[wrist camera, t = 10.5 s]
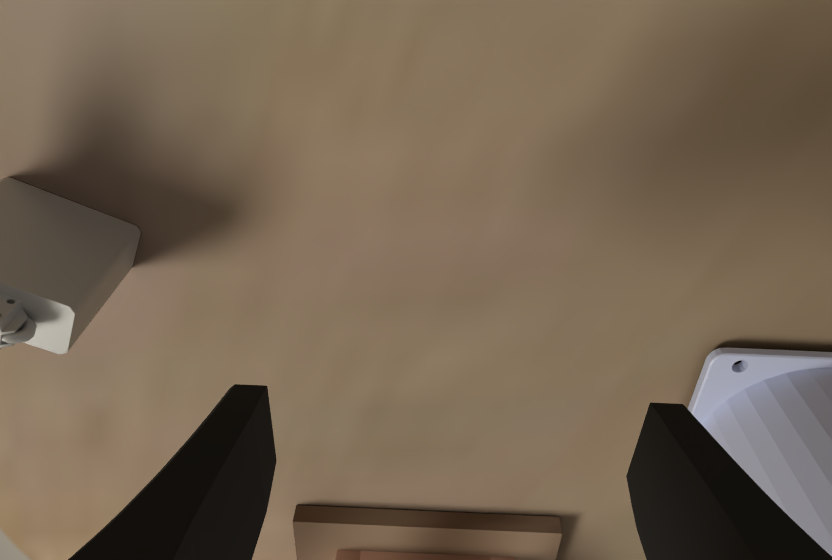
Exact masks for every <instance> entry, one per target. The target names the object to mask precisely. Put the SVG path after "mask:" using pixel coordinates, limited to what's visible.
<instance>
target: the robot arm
mask: <svg viewBox="0 0 832 560" xmlns="http://www.w3.org/2000/svg"><path fill="white" fill-rule="evenodd" d="M741 360H742V361H741ZM737 361H741V362H740V363H738V364H735V365H733V364H734V363H735V362H737ZM275 465H276V454H275V446H274V437H273V429H272V421H271V413H270V405H269V397H268V389H267V386H259V385H237V384H235V385H234V386H232V387H231V388H230V389H229V390H228V391H227V393H226V394H225V395H224V397H223V398H222V399H221V400H220V402H219V403H218V404H217V405H216V407H215V408H214V409H213V410H212V412H211V413H210V414H209V415H208V416H207V418H206V419H205V420H204V421H203V423H202V424H201V425H200V426H199V427H198V428H197V430H196V431H195V432H194V433H193V434H192V436H191V437H190V438H189V439H188V440H187V441H186V443H185V444H184V445H183V446H182V447H181V448H180V449H179V450H178V452H177V453H176V454H175V455H174V456H173V457H172V458H171V459H170V461H169V462H168V463H167V464H166V465H165V466H164V467H163V468H162V470H161V471H160V472H159V473H158V474H157V475H156V476H155V477H154V478H153V479H152V480H151V481H150V482H149V483H148V484H147V485H146V486H145V487H144V488H143V489H142V490H141V491H140V492H139V494H138V495H137V496H136V497H135V498H134V499H133V500H132V501H131V502H130V503H129V504H128V505H127V506H126V507H125V508H124V509H123V510H122V511H121V512H120V513H119V514H118V515H117V516H116V517H115V518H114V519H113V520H111V521H110V522H109V523H108V524H107V525H106V526H105V527H104V528H103V529H102V530H101V531H100V532H99V533H98V534H96V535H95V536H94V537H93V538H92V539H91V540H90V541H89V542H88V543H86V544H85V545H84V546H83V547H82V548H81V549H80V550H79V551H77V552H76V553H75V554H74V555H73V556H72V557H71V558H69V559H68V560H252V557H253V553H254V550H255V547H256V544H257V541H258V538H259V534H260V531H261V528H262V525H263V521H264V518H265V515H266V512H267V507H268V502H269V497H270V492H271V487H272V481H273V476H274V471H275ZM627 481H628V487H629V492H630V498H631V503H632V508H633V513H634V517H635V522H636V527H637V531H638V534H639V537H640V540H641V543H642V546H643V549H644V553H645V556H646V559H647V560H832V352H818V351H795V350H772V349H749V348H726V347H725V348H718V349H716V350H714V351H712V352H711V353H710V354H709V355H708V356H707V358H706V360H705V363H704V366H703V369H702V371H701V374H700V377H699V379H698V382H697V385H696V388H695V390H694V393H693V396H692V399H691V401H690V404H689V407H688V409H687V408H686V407H685V406H684V405H683V404H668V403H650V405H649V408H648V411H647V414H646V417H645V420H644V423H643V426H642V430H641V433H640V436H639V439H638V442H637V445H636V448H635V451H634V454H633V458H632V461H631V464H630V467H629V470H628V473H627Z"/></svg>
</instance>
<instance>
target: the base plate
mask: <svg viewBox="0 0 832 560" xmlns="http://www.w3.org/2000/svg"><path fill="white" fill-rule="evenodd" d="M293 528H294V537H295V546H296V554H297V560H556V557H557V553H558V549H559V545H560V541H561V537H562V529H561V523H560V518H559V517H551V516H528V515H506V514H483V513H461V512H439V511H416V510H394V509H371V508H349V507H326V506H304V505H296V509H295V514H294V519H293Z"/></svg>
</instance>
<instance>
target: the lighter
mask: <svg viewBox="0 0 832 560" xmlns="http://www.w3.org/2000/svg"><path fill="white" fill-rule="evenodd" d="M140 235H141V232H140V230H139V229H138V227H137V226H136V225H133V224H131V223H128V222H125V221H123V220H120V219H117V218H115V217H112V216H110V215H107V214H104V213H102V212H99V211H96V210H94V209H91V208H89V207H86V206H83V205H81V204H78V203H75V202H73V201H70V200H68V199H65V198H62V197H60V196H57V195H55V194H52V193H49V192H47V191H44V190H41V189H39V188H36V187H34V186H31V185H28V184H26V183H23V182H20V181H18V180H15V179H13V178H10V177H7V178H4V179H2V180H0V349H1V348H2V347H7V346H13V345H14V344H15V343H27V344H30V345H33V346H36V347H39V348H42V349H45V350H48V351H51V352H54V353H57V354H63V353H66V352H68V351H69V349H70V348H71V347H72V345H73V344H74V343H75V341H76V340H77V339H78V337H79V336H80V335H81V334H82V332H83V331H84V330H85V328H86V327H87V326H88V324H89V323H90V322H91V320H92V319H93V318H94V317H95V315H96V314H97V313H98V311H99V310H100V309H101V307H102V306H103V305H104V303H105V302H106V301H107V299H108V298H109V297H110V296H111V294H112V293H113V292H114V290H115V289H116V288H117V286H118V285H119V284H120V282H121V281H122V280H123V279H124V277H125V276H126V275H127V273H128V272H129V271H130V269H131V268H132V267H133V263H134V259H135V255H136V251H137V247H138V243H139V239H140Z"/></svg>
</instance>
